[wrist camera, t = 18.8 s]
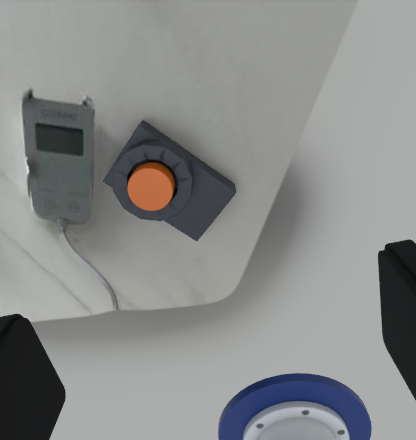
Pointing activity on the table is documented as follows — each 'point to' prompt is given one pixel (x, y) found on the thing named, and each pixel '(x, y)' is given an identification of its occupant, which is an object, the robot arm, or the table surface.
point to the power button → (151, 186)
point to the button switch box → (183, 176)
